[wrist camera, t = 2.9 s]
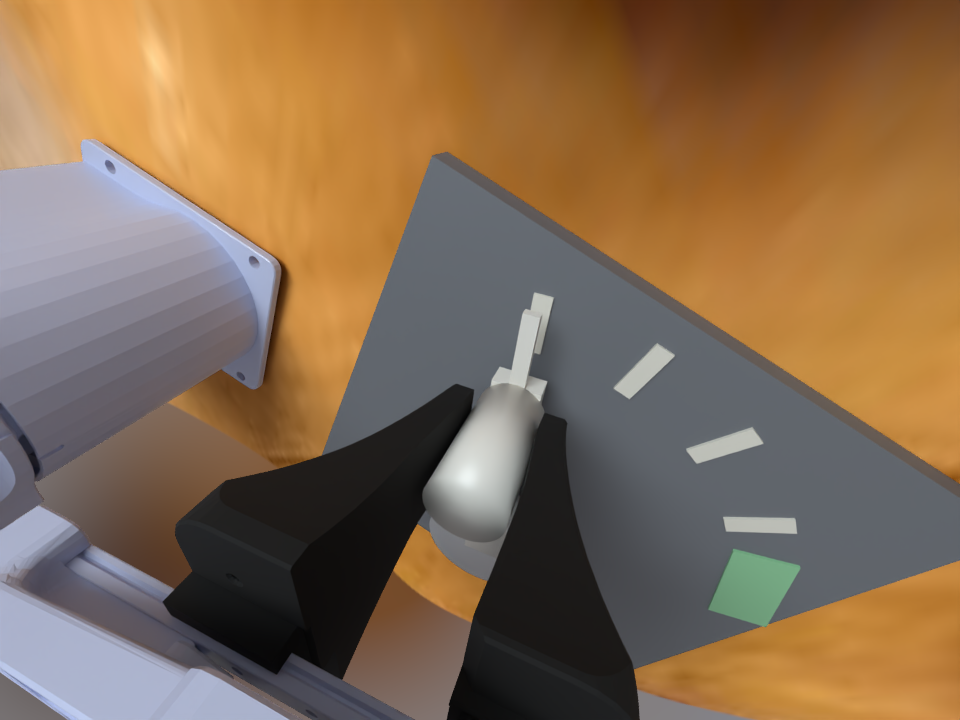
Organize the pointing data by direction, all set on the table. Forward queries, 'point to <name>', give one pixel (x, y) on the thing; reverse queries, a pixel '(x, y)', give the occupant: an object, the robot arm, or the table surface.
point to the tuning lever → (488, 463)
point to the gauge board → (648, 426)
